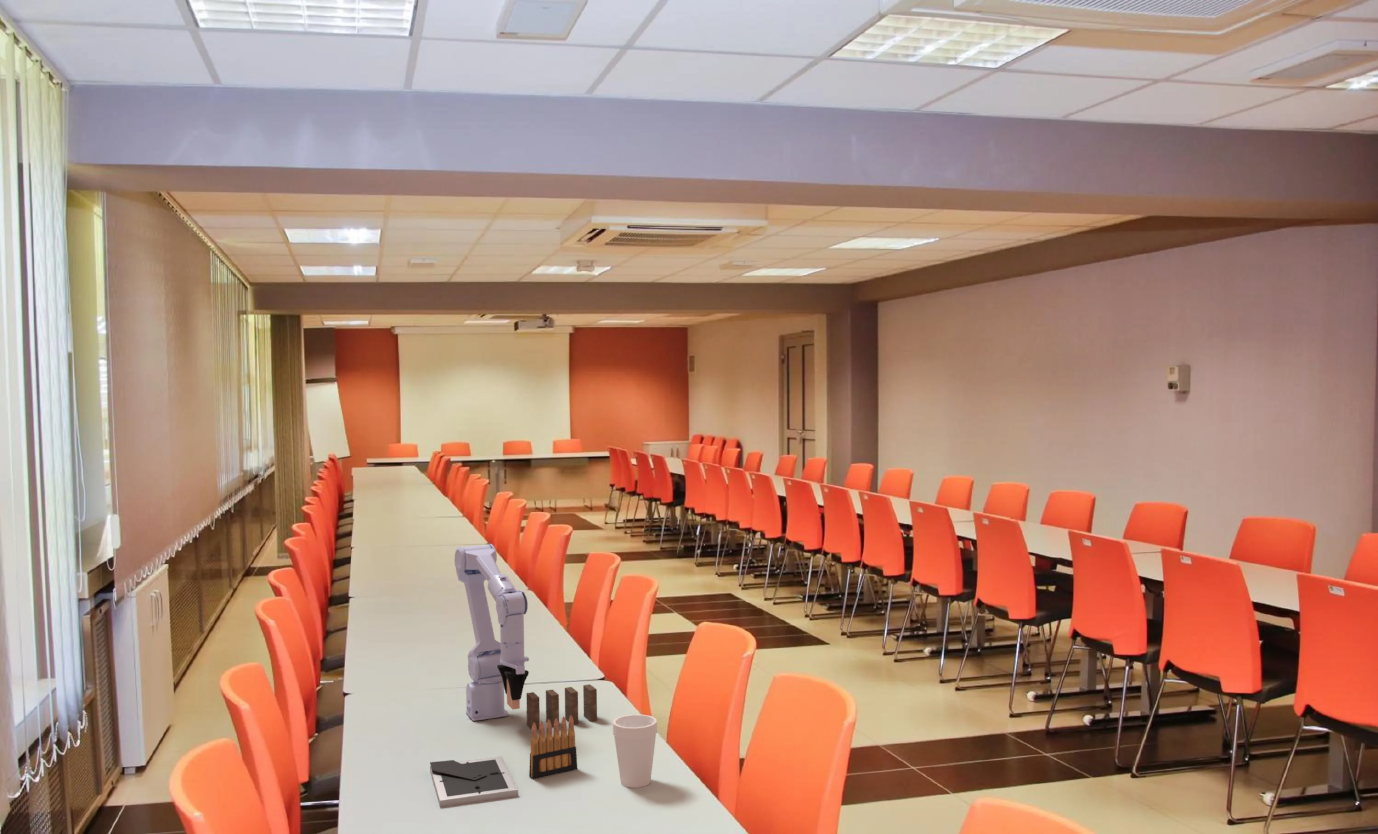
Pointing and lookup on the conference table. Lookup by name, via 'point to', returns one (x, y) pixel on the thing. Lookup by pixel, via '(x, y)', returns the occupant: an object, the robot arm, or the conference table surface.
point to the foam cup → (635, 748)
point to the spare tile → (512, 703)
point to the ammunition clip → (552, 749)
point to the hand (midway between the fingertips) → (513, 696)
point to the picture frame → (472, 781)
